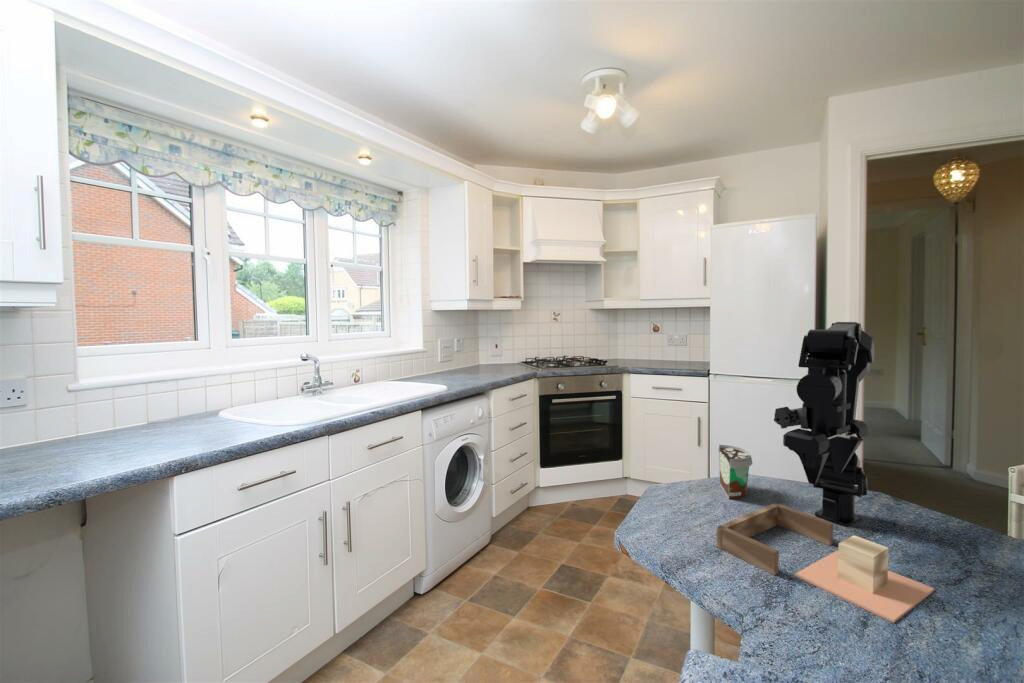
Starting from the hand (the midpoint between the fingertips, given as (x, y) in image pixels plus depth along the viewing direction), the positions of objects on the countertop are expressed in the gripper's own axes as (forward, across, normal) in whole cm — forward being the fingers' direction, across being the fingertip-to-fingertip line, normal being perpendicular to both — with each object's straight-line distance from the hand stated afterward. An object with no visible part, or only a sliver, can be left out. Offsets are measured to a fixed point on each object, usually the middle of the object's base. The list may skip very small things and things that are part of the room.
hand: (825, 478), depth 89 cm
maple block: (+12, +8, +10) cm, 18 cm away
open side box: (+13, +8, -5) cm, 16 cm away
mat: (+13, +8, +10) cm, 18 cm away
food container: (+13, -9, -24) cm, 29 cm away
